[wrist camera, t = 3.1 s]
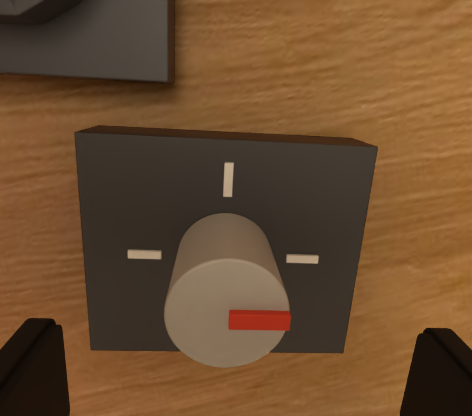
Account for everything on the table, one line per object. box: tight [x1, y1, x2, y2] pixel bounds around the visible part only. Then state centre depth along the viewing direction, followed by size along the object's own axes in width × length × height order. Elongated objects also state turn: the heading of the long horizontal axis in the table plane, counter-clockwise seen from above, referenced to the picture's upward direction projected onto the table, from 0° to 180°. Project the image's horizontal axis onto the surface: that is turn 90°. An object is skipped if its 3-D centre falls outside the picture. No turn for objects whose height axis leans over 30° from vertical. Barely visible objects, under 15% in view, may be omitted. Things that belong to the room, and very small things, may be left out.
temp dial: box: [164, 213, 291, 368], centre depth 14 cm, size 4×4×5 cm
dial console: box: [74, 125, 378, 353], centre depth 17 cm, size 12×10×3 cm
